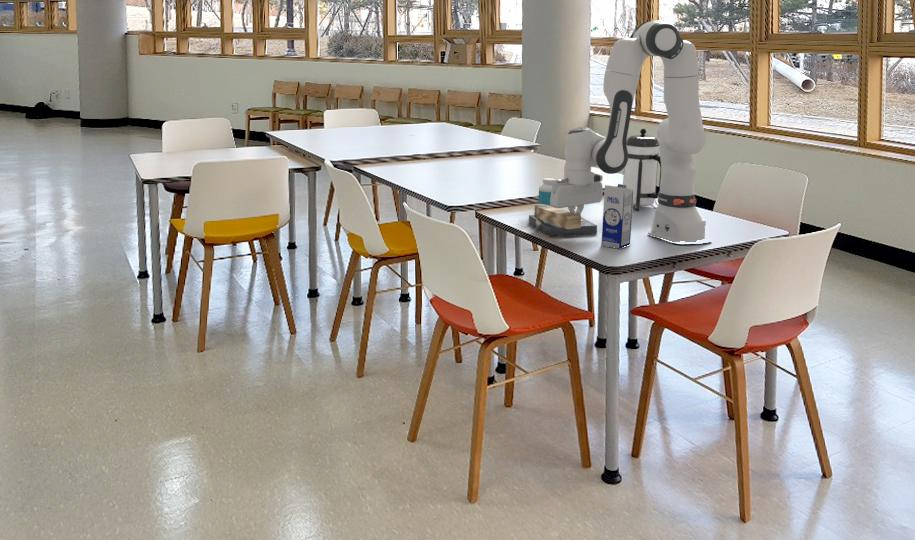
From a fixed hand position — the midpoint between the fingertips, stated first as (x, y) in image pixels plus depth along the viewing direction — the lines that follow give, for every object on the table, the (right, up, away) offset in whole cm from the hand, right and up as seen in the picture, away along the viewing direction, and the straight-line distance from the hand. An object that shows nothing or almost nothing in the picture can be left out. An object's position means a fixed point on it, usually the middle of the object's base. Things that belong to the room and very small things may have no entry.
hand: (575, 218), depth 317 cm
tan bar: (-7, -1, 0) cm, 7 cm away
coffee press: (+31, +6, +46) cm, 56 cm away
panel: (-3, -3, +11) cm, 12 cm away
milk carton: (+12, -10, -11) cm, 19 cm away
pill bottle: (-6, +3, +31) cm, 32 cm away
